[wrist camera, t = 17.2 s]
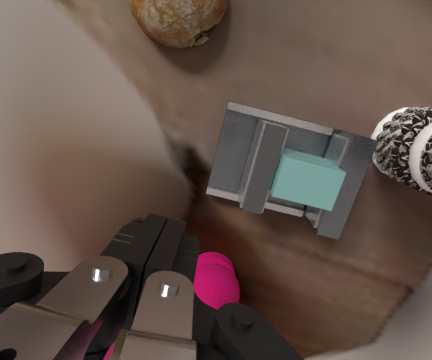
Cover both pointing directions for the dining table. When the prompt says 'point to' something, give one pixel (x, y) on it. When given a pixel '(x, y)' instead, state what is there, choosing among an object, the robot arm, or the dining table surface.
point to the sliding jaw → (261, 165)
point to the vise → (298, 141)
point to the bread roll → (178, 20)
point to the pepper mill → (216, 280)
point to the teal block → (307, 180)
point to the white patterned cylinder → (406, 147)
